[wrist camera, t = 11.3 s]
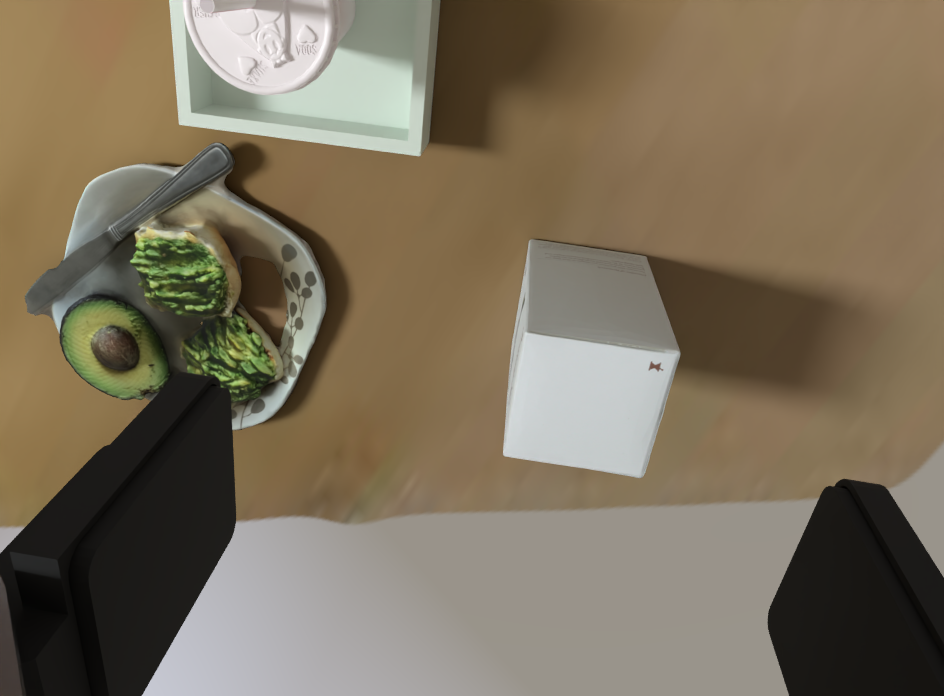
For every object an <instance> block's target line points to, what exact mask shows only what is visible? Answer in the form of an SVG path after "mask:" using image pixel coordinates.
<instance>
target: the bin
mask: <svg viewBox="0 0 944 696" xmlns="http://www.w3.org/2000/svg"><path fill="white" fill-rule="evenodd" d="M440 2H441V0H355V4H356V12H355V18H354V21H353V24H352V26H351V28H350V29H349V31H348V32H347V33H346V34H345V36H344V37H343V38H342V39H341V40H340V41H339V43H338V46H337V48H336V50H335V53H334V55H333V57H332V60H331V62H330V64H329V65H328V66H327V68H326V69H325V70H324V71H323V72H322V74H321V75H320V76H319V77H318V78H317V79H316V80H314V81H313V82H311V83H310V84H308V85H307V86H305V87H304V88H302V89H299V90H296V91H292V92H289V93H286V94H278V95H260V94H254V93H250V92H247V91H244V90H242V89H239V88H237V87H235V86H233V85H232V84H230V83H228V82H227V81H225V80H224V79H222V78H221V77H220V76H219V75H218V74H216V73H215V72H214V71H213V70H212V69H211V68H210V67H209V66H208V64H207V63H206V62H205V61H204V59H203V58H202V57H201V55H200V54H199V52H198V51H197V49H196V47H195V45H194V43H193V41H192V39H191V37H190V34H189V32H188V29H187V25H186V22H185V17H184V11H183V0H169V3H170V16H171V28H172V41H173V53H174V66H175V79H176V91H177V104H178V117H179V125H186V126H194V127H201V128H209V129H216V130H224V131H232V132H239V133H247V134H255V135H262V136H270V137H277V138H285V139H293V140H300V141H308V142H316V143H323V144H331V145H338V146H346V147H354V148H361V149H369V150H376V151H384V152H392V153H399V154H407V155H415V156H421V154H422V153H423V151H424V150H425V148H426V146H427V145H428V143H429V137H430V125H431V112H432V100H433V88H434V75H435V63H436V51H437V39H438V26H439V14H440Z"/></svg>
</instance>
